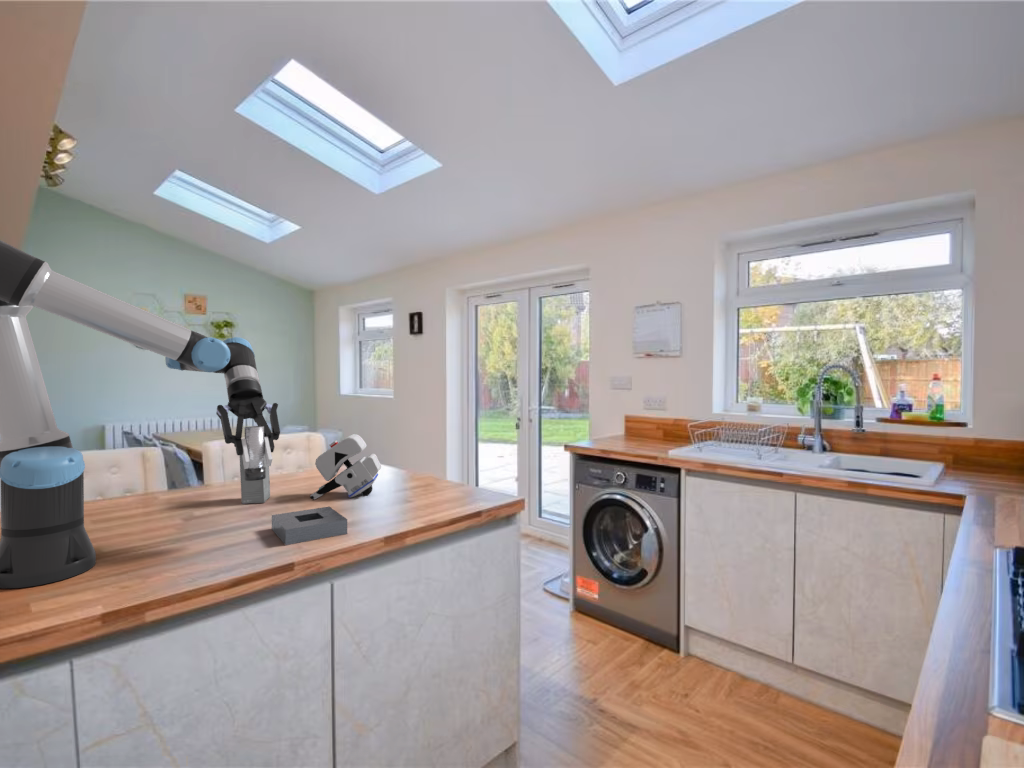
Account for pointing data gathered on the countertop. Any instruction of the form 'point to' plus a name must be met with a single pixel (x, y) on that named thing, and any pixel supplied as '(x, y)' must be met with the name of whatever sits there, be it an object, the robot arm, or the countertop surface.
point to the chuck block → (308, 525)
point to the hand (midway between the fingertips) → (258, 463)
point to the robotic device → (355, 475)
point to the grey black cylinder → (255, 453)
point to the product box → (254, 487)
